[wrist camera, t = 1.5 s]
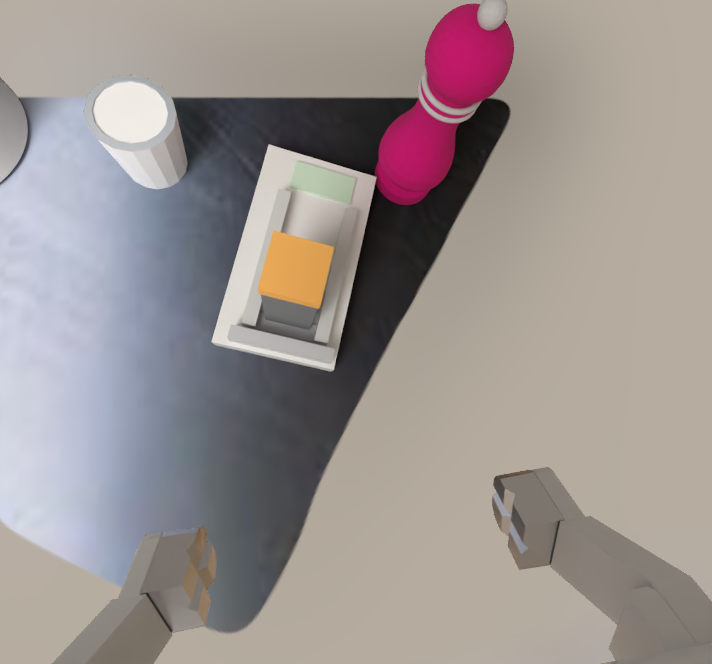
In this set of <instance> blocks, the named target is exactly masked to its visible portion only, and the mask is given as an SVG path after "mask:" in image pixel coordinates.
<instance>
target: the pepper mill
mask: <svg viewBox="0 0 712 664" xmlns="http://www.w3.org/2000/svg"><path fill="white" fill-rule="evenodd" d="M506 15H507V3H506V1H505V0H483V1H482V3H481V4H466V5H462V6H459V7H457V8H455V9H453V10H452V11H450V12H449V13H448V14H446V15H445V16H444V17H443V18H442V19H441V20H440V22H439V23H438V24H437V25H436V27H435V29H434V30H433V32H432V34H431V36H430V38H429V41H428V44H427V47H426V51H425V68H424V70H423V74H422V76H421V78H420V80H419V83H418V97H419V98H418V101H417V103H416V105H415V106H414V107H413V108H412V109H410V110H409V111H407V112H406V113H404V114H403V115H401V116H400V117H398V118H397V119H396V120H395V121H394V122H393V123H392V124H391V125H390V126H389V127H388V129H387V130H386V132H385V134H384V136H383V138H382V140H381V142H380V146H379V161H378V163H377V166H376V169H375V177H377V178H376V185H377V187H378V189H379V190H380V192H381V193H382V194H383V195H384V196H385V197H386V198H387V199H388V200H390V201H392V202H394V203H396V204H400V205H412V204H415V203H418V202H420V201H421V200H422V199H424V197H425V196H426V195H427V194H428V192H429V191H430V189H432V188H434V187H435V186H437V185H438V184H439V183H441V182H442V180H443V179H444V178H445V176H446V175H447V173H448V171H449V169H450V167H451V165H452V161H453V157H454V153H455V134H456V129H457V127H458V125H459V123H460V122H463V121H466V120H467V119H469V118H470V117H471V116H472V115H473V114H474V113H475V111H476V109H477V107H478V106H479V105H480V103H481V102H482V101H483V100H485V99H486V98H488V97H490V96H491V95H492V94H493V93H494V92H495V91H496V90H497V89H498V88H499V87H500V85H501V84H502V83H503V81H504V80H505V78H506V76H507V74H508V72H509V69H510V66H511V64H512V59H513V53H514V43H513V38H512V33H511V31H510V28H509V26H508V24H507V23H506V21H505V18H506Z"/></svg>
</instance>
